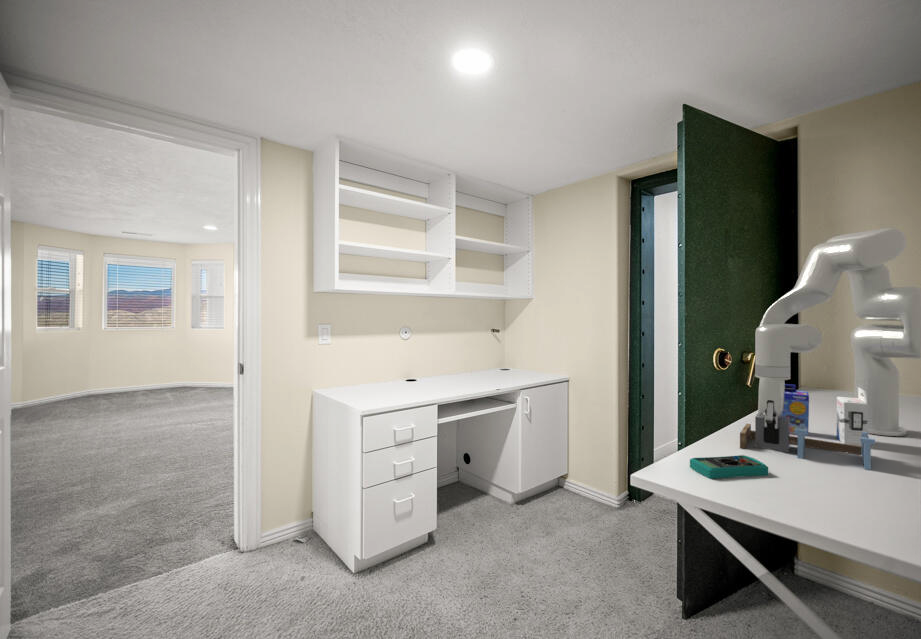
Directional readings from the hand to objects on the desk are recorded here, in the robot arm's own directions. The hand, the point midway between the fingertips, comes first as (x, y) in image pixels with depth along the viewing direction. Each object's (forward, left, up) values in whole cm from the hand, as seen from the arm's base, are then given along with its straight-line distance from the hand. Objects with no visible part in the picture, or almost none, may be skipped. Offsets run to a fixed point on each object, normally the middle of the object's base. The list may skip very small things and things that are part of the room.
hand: (772, 440), depth 113 cm
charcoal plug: (0, 0, -2) cm, 2 cm away
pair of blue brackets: (0, +12, -2) cm, 12 cm away
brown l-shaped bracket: (0, +6, -2) cm, 6 cm away
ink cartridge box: (-20, +2, -2) cm, 20 cm away
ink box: (-18, +16, -2) cm, 24 cm away
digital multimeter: (+26, -6, -3) cm, 27 cm away
